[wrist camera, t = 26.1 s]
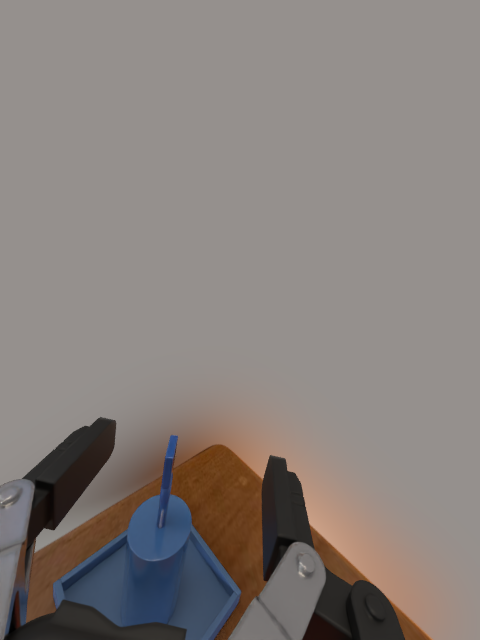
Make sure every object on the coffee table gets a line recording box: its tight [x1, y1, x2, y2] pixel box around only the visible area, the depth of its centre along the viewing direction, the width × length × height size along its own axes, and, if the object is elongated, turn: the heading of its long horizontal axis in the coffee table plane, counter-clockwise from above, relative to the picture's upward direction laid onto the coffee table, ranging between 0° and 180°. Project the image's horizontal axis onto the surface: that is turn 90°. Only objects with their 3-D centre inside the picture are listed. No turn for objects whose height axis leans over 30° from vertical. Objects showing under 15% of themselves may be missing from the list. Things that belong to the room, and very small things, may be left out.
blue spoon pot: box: [120, 435, 192, 627], centre depth 23 cm, size 6×6×20 cm
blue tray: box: [53, 525, 241, 640], centre depth 26 cm, size 14×14×2 cm
